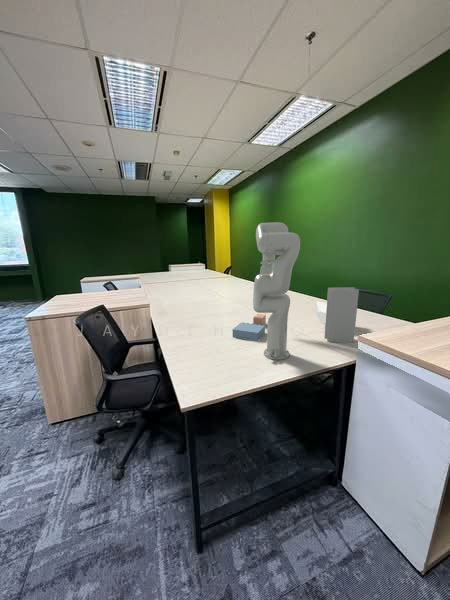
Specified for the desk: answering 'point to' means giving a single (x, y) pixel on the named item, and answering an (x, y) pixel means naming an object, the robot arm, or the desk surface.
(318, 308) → the folded paper
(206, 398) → the desk surface
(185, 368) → the desk surface
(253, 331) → the block
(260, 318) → the stub
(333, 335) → the tall grey block
